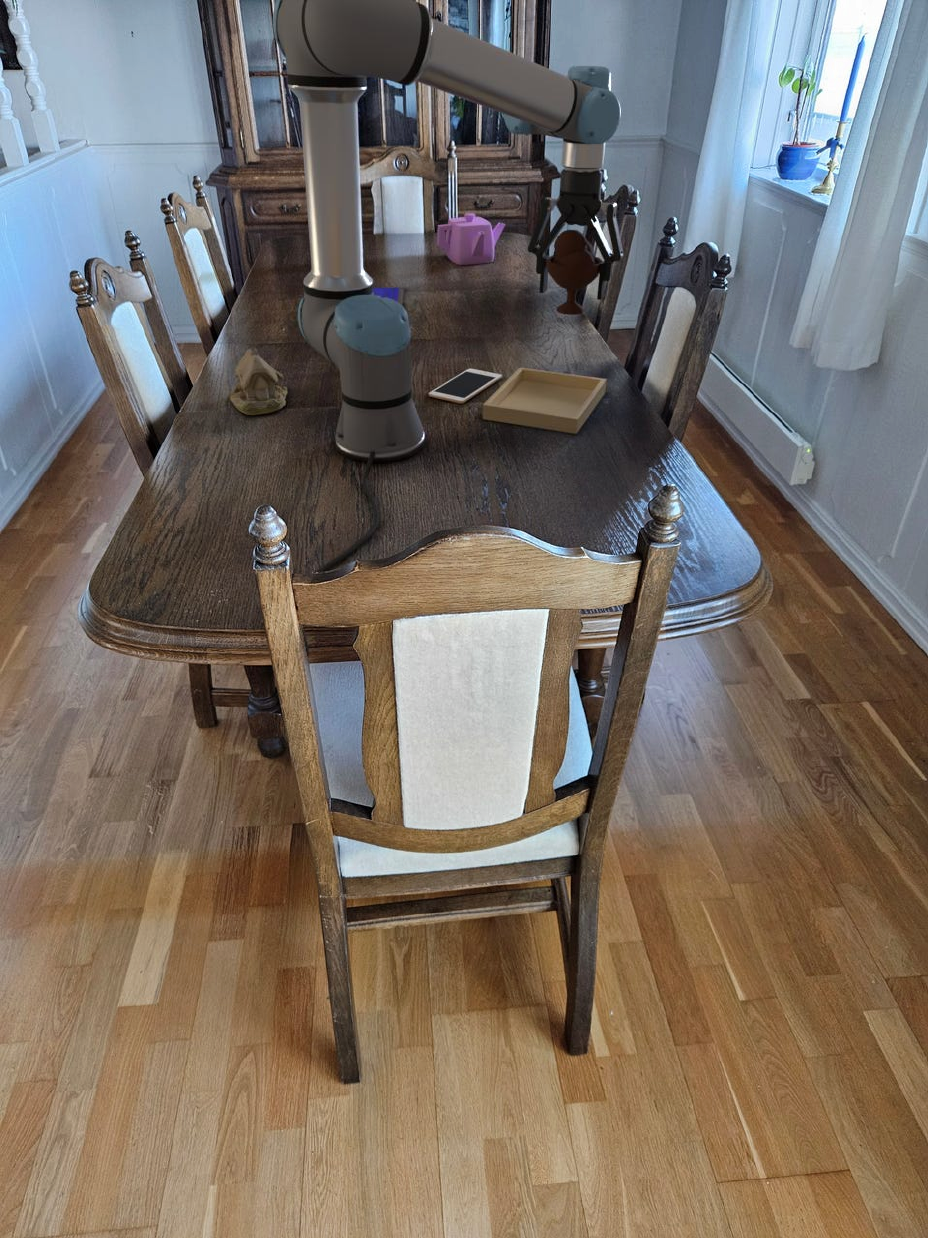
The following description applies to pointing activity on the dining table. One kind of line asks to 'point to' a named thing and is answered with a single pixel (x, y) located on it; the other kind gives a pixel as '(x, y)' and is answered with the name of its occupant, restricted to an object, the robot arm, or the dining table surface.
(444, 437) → the dining table surface
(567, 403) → the tray
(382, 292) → the booklet
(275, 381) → the ceramic model
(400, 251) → the dining table surface
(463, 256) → the teakettle
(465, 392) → the cell phone
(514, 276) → the dining table surface
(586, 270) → the ice cream bowl
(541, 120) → the robot arm
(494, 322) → the dining table surface
